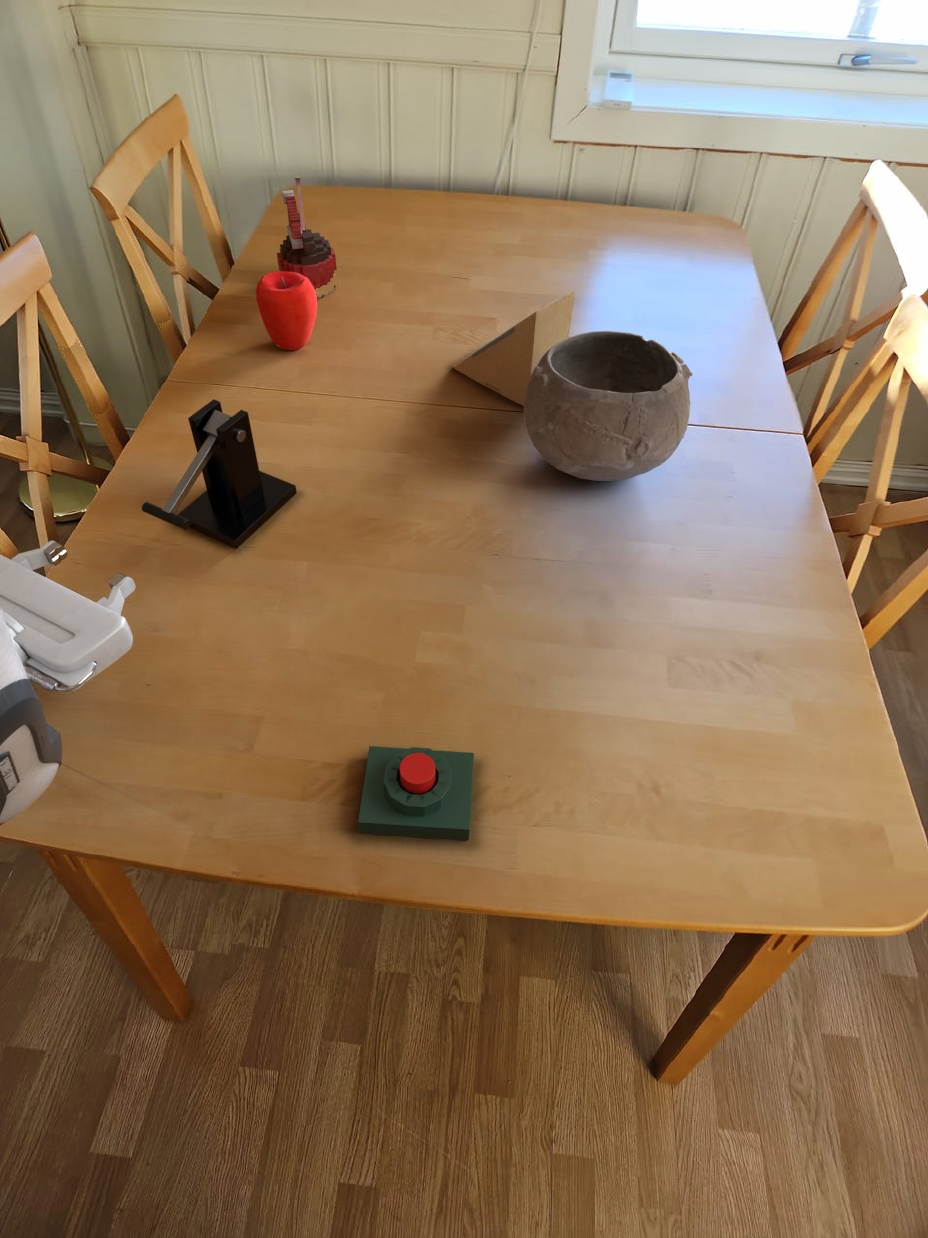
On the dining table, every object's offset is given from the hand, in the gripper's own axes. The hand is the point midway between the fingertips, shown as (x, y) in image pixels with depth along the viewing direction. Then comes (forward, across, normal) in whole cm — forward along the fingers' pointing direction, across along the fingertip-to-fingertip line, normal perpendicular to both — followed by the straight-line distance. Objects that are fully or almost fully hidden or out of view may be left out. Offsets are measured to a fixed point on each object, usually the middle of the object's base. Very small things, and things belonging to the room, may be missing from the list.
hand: (94, 563), depth 84 cm
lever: (+17, 0, 0) cm, 17 cm away
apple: (+56, +18, +9) cm, 60 cm away
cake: (+72, +27, +9) cm, 77 cm away
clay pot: (+54, -34, +9) cm, 65 cm away
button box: (-2, -40, +9) cm, 41 cm away
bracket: (+21, 0, +8) cm, 23 cm away
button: (-2, -40, +5) cm, 41 cm away
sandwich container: (+66, -15, +9) cm, 68 cm away
